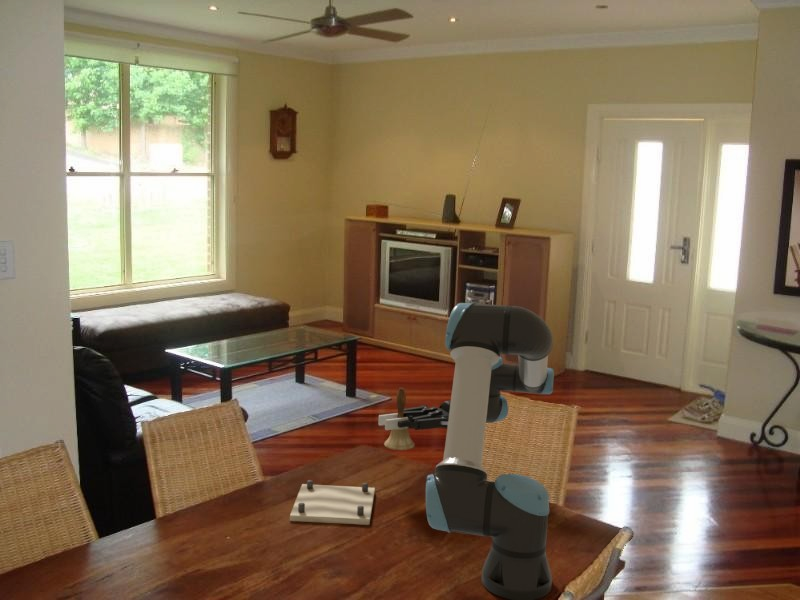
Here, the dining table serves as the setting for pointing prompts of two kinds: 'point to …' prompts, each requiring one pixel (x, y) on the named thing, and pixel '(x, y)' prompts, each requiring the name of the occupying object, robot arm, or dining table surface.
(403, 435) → the hand bell
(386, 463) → the dining table surface
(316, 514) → the board
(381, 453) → the dining table surface
